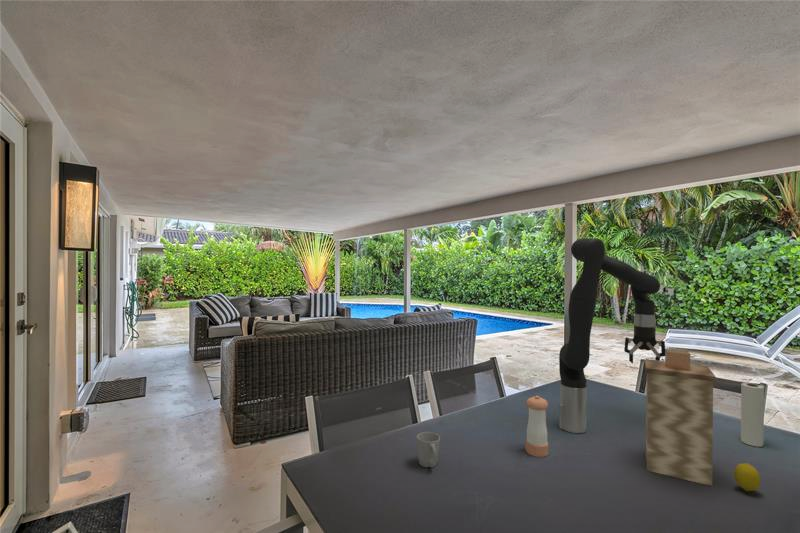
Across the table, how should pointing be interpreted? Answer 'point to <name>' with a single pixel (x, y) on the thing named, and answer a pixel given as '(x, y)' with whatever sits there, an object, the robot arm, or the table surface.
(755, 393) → the paper towel roll
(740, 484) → the lemon
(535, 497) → the table surface
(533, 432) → the pepper shaker
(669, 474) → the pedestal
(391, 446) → the table surface
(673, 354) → the gray and brown block
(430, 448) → the cup
